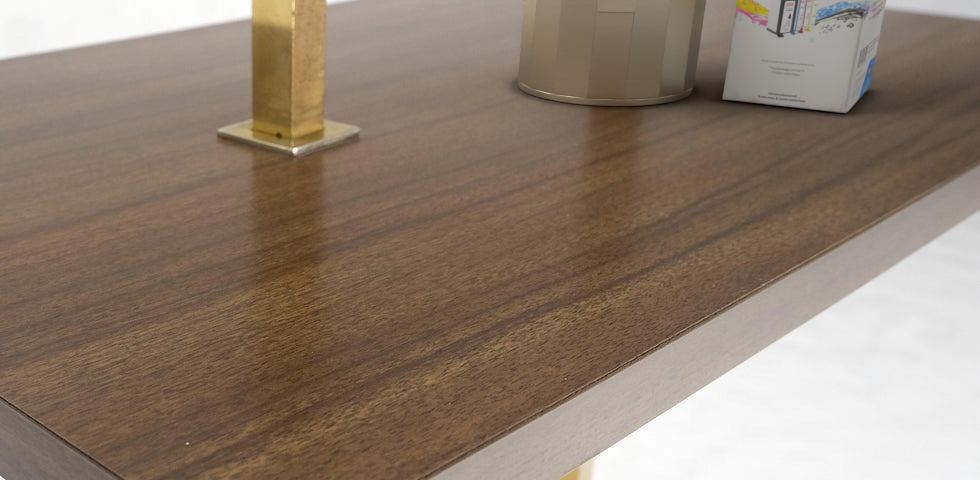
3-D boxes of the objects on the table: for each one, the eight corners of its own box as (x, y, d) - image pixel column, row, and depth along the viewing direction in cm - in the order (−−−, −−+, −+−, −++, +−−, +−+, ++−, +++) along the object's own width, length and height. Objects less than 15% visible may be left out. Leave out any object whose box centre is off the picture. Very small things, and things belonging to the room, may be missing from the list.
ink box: (750, 79, 89) (776, -84, 84) (871, 91, 85) (905, -80, 80) (717, 100, 83) (743, -74, 78) (846, 115, 79) (882, -69, 74)
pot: (682, 66, 94) (697, -45, 91) (702, 118, 78) (721, -13, 75) (523, 61, 97) (531, -46, 94) (511, 111, 81) (521, -16, 78)
